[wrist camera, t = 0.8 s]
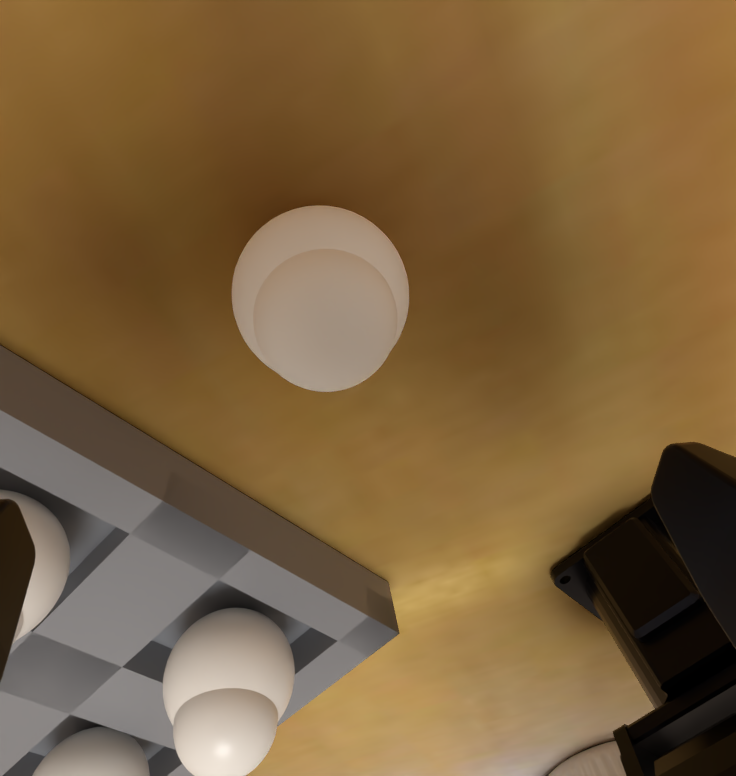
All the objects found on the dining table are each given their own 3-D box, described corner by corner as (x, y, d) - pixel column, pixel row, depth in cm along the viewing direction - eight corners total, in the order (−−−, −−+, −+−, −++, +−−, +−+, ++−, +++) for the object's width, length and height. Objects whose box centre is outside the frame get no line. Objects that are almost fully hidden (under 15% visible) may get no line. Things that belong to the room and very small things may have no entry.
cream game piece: (422, 265, 17) (480, 342, 12) (320, 366, 18) (335, 473, 13) (311, 153, 15) (326, 189, 10) (205, 274, 16) (172, 360, 11)
